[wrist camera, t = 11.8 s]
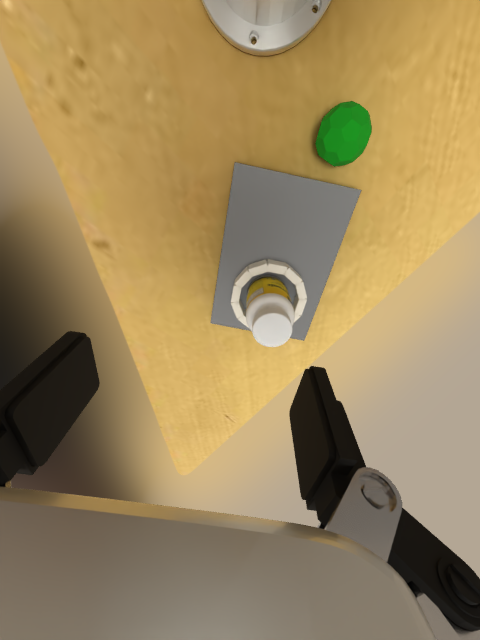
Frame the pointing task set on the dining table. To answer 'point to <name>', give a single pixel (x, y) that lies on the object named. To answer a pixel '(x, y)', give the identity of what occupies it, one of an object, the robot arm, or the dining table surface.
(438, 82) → the dining table surface
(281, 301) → the supplement bottle
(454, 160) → the dining table surface
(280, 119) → the dining table surface
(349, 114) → the polyhedron
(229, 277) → the pin board
